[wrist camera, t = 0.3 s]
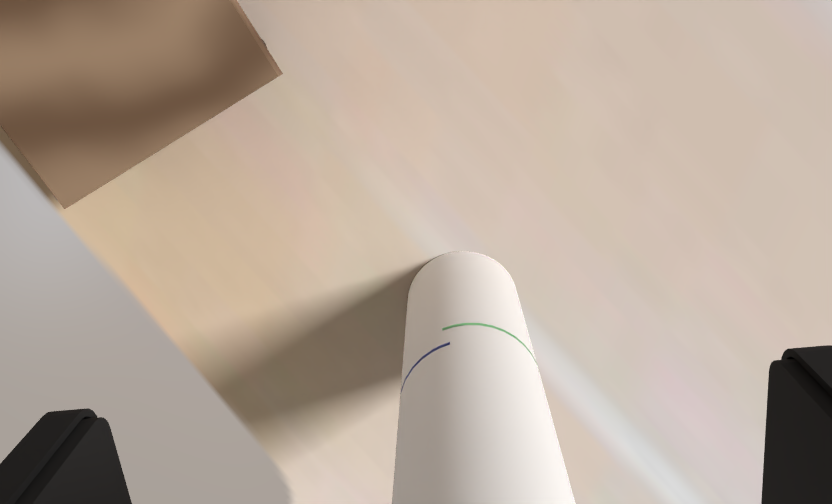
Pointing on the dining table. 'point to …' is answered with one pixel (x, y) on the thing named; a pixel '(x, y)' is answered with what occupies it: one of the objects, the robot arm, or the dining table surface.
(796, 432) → the robot arm
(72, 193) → the walnut shelf
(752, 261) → the dining table surface
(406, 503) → the cylindrical container
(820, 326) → the dining table surface
